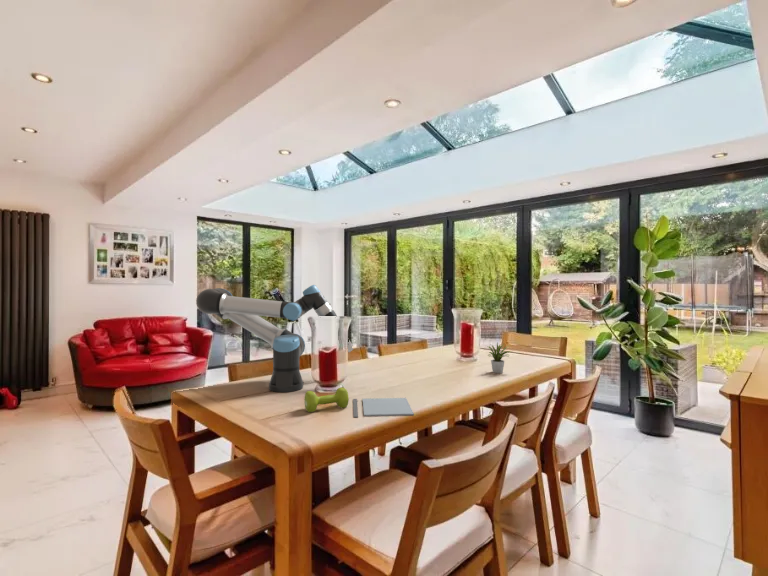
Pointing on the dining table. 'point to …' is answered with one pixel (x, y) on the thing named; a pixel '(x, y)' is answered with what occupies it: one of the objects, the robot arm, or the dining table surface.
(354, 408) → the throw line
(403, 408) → the mat
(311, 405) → the dumbbell
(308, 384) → the dining table surface
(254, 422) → the dining table surface
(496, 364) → the house plant
